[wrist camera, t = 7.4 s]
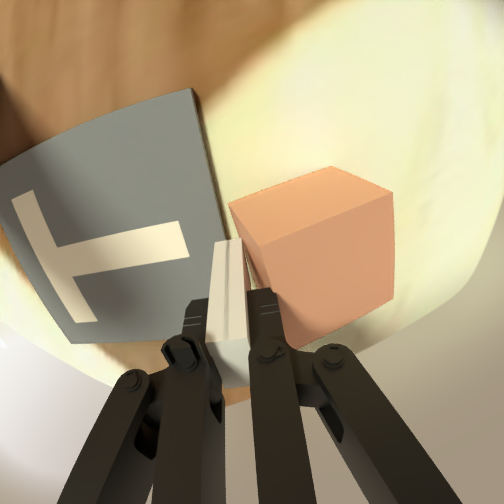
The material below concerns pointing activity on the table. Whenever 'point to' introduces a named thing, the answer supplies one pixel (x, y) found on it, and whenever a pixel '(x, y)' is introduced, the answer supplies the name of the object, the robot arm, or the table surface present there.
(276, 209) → the terracotta block
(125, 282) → the letter mat
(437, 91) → the table surface
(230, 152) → the table surface
